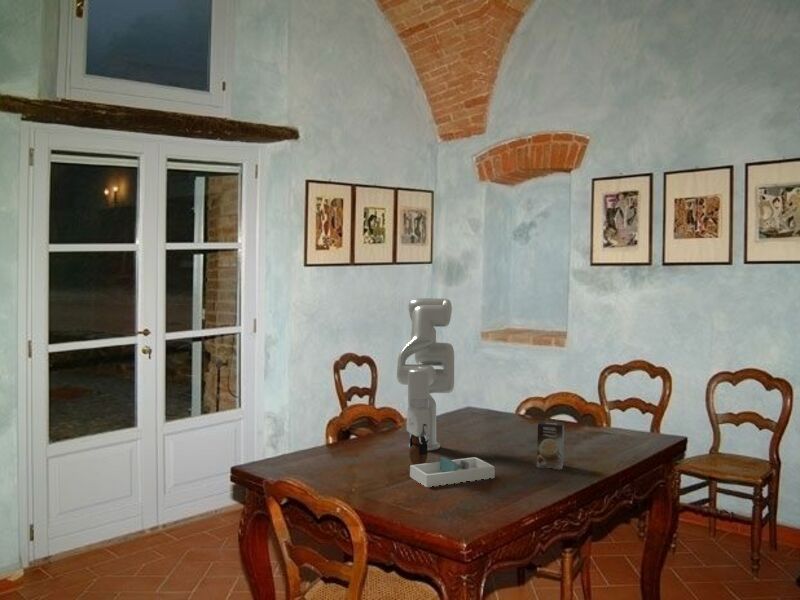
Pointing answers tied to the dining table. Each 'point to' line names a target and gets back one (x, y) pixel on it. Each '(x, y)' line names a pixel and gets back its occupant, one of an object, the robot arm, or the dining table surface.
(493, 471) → the lane
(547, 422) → the coffee box
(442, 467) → the pusher paddle
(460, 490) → the dining table surface
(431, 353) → the robot arm
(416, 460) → the wooden figurine
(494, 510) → the dining table surface
